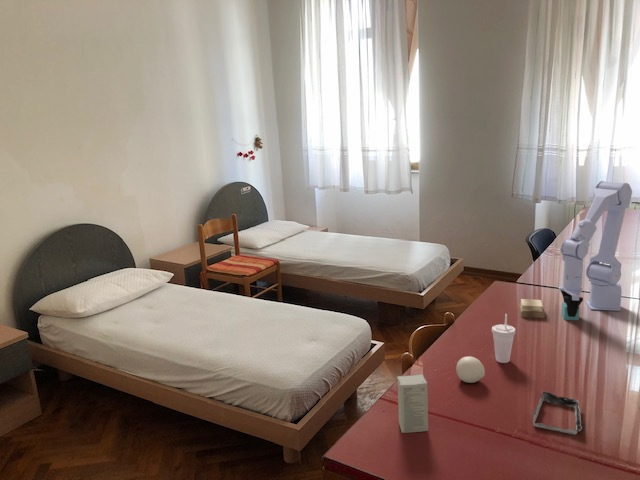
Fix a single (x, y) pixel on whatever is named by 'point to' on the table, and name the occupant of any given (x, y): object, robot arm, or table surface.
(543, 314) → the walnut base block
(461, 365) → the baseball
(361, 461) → the table surface
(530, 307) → the maple top block
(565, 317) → the teal block
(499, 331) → the smoothie
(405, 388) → the skincare box
